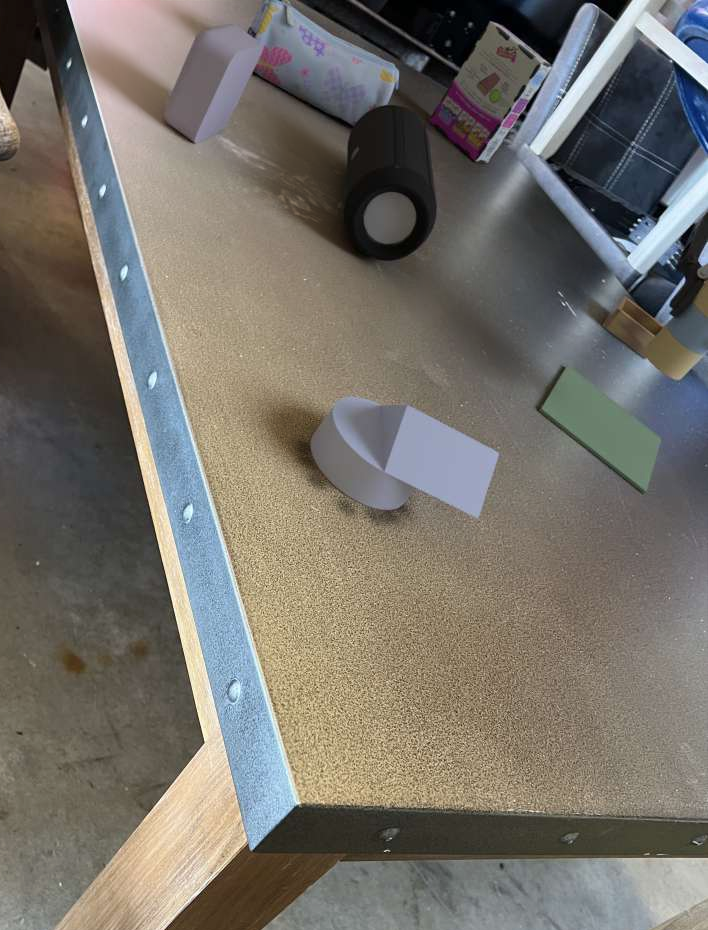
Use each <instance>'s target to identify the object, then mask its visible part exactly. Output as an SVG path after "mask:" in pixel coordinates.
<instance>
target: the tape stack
mask: <svg viewBox="0 0 708 930" xmlns="http://www.w3.org/2000/svg"><path fill="white" fill-rule="evenodd" d="M663 326H664V327H663V328H662V329H661V331H660V332H659V333H658V334H657V335H656V336H655V337H654V338H653V339H652V340H651V341H650V342H649V343H648V345H647V346H646V347H645V348H644V349H643V352H644V354H645V356H646V357H647V358H646V359H647V360H648V362H649V363H651V365H652V366H654V367H655V368H656V369H657V370H658V371H659V372H661V373H662V374H663V375H665V376H667V377H668V378H669V379H672V380H675V381H680V380H681V379H683V377H685V376H686V375H687V374H688V372H690V370H691V369H692V368H693V367H694V366H695V365H696V364H697V363H698V362H699V361H700V360H701V359H702V358H703V357H705V355H706V354H707V353H708V280H707V281H706V282H704V285H703V286H702V287H701V289H700V290H699V291H698V292H697V294H696V295H695V296H694V297H693V299H692V300H691V301H690V302H689V304H688V305H687V306H686V307H685V309H684V310H683V311H682V312H681V313H680V314H678V315H677V316H676V317H675V318H674V317H673V316H672V318H670V320H668V321H667V323H666V324H665V325H663Z"/></svg>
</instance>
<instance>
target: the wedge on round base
mask: <svg viewBox="0 0 708 930" xmlns="http://www.w3.org/2000/svg"><path fill="white" fill-rule="evenodd" d="M310 452H311V456H312V458H313V460H314V462H315V464H316V465H317V468H318V469H319V470H320V472H321V473H322V475H324V476H325V478H326V479H327V480H328V481H329V482H330V483H331V484H332V485H333V486H334V487H335V488H337V489H338V491H340V492H341V493H343V494H344V495H345V496H346V497H349V498H350V499H352V500H353V501H356V502H358V503H359V504H362V505H364V506H366V507H369V508H372V509H376V510H382V511H391V510H392V511H393V510H396V509H399V508H400V507H402V506H403V505H404V504H405V503H406V501H407V500H408V499H409V498H410V497H411V496H412V494H413V493H414V492H415V490H416V489H417V490H419V491H422V492H424V493H426V494H428V495H430V496H432V497H434V498H436V499H438V500H440V501H441V502H444V503H445V504H448V505H450V506H452V507H454V508H456V509H458V510H460V511H462V512H464V513H465V514H468V515H470V516H472V517H474V518H476V519H479V518H480V515H481V511H482V509H483V506H484V502H485V499H486V496H487V493H488V490H489V486H490V484H491V481H492V478H493V475H494V472H495V468H496V465H497V463H498V459H499V456H500V452H499V451H496V450H494V449H492V448H491V447H489V446H487V445H485V444H483V443H481V442H480V441H478V440H476V439H473V438H472V437H470V436H468V435H466V434H464V433H462V432H461V431H458V430H456V429H455V428H453V427H451V426H449V425H447V424H445V423H443V422H441V421H439V420H437V419H436V418H434V417H432V416H430V415H429V414H426V413H424V412H423V411H420V410H419V409H417V408H414V407H413V406H411V405H409V404H385V405H383V404H382V405H381V404H379V403H378V402H375V401H373V400H370V399H367V398H364V397H360V396H345V397H342V398H339V399H338V400H337V401H336V402H335V403H334V404H333V405H332V407H331V409H330V410H329V412H328V413H327V414H326V416H325V417H324V419H323V420H322V422H321V423H320V424H319V426H318V427H317V429H316V430H315V432H313V435H312V436H311V438H310ZM374 506H375V507H374ZM378 507H379V508H378ZM385 508H386V509H385ZM390 508H391V509H390Z"/></svg>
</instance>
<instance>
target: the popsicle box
mask: <svg viewBox="0 0 708 930" xmlns="http://www.w3.org/2000/svg"><path fill="white" fill-rule="evenodd" d="M553 67H554V66H553V65H552V64H551V63H549V62H548V61H547V60H546V59H545V58H543V57H542V56H541V55H540V54H539V53H537V52H536V51H535V50H533V49H532V48H531V46H528V45H527V44H526V43H525V42H524V41H523V40H521V38H519V37H518V36H517V35H515V34H514V33H512V32H511V31H510V30H509V29H508V28H506V27H505V26H504V25H503V24H500V23H498V22H494V21H491V20H490V21H489V22H488V23H487V25H486V27H485V28H484V30H483V31H482V33H481V35H480V36H479V37H478V40H477V41H476V43H475V45H474V46H473V48H472V49H471V51H470V53H469V54H468V56H467V58H466V59H465V61H464V62H463V64H462V66H461V67H460V69H459V70H458V72H457V74H456V75H455V77H454V79H453V80H452V82H451V84H450V85H449V87H448V88H447V90H446V91H445V93H444V95H443V96H442V98H441V100H440V101H439V103H438V105H437V106H436V107H435V109H434V110H433V112H432V114H431V115H430V117H429V119H428V122H429V123H430V124H431V125H433V127H435V129H436V130H438V131H439V132H440V133H441V134H443V136H445V137H446V138H447V139H448V140H449V141H451V143H453V144H454V145H455V146H456V147H457V148H458V149H459V150H460V151H462V152H463V153H464V154H465V155H466V156H467V157H468V158H470V159H471V160H472V161H473V162H475V163H480V164H488V163H489V162H490V161H491V159H492V158H493V156H494V155H495V153H496V152H497V150H498V149H499V147H500V146H501V145H502V143H503V141H505V139H506V137H507V135H508V134H509V133H510V131H511V130H512V128H513V127H514V126H515V124H516V123H517V121H518V120H519V118H520V116H521V115H522V113H523V112H524V111H525V110H526V108H527V106H528V105H529V104H530V102H531V100H532V99H533V98H534V96H535V94H536V93H537V91H538V90H539V89H540V87H541V85H542V84H543V83H544V81H545V80H546V78H547V77H548V75H549V74H550V73H551V71H552V69H553Z"/></svg>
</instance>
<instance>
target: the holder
mask: <svg viewBox="0 0 708 930" xmlns="http://www.w3.org/2000/svg"><path fill="white" fill-rule="evenodd" d="M664 326H665V325H663V323H661V322H660V321H658V320H657V319H656V318H654V317H653V316H652V315H650V314H649V313H648V312H647V311H645V310H644V309H643V308H642V307H640V306H639V305H637V303H635V302H634V301H633V300H632V299H630V298H628V296H626V295H623V296H622V298H620V300H619V301H618V302H617V303H616V305H615V306H614V307H613V308H612V309H611V310H610V312H609V313H608V315H607V316H606V318H605V320H604V322H603V323H602V325H601V327H602V328H604V329H606V330H607V331H608V332H609V333H610V334H612V335H613V336H614V337H616V338H617V339H618V340H620V341H621V342H622V343H624V345H626V346H627V347H628V348H630V349H631V350H633V352H634V353H636V354H637V355H638V356H640V357H641V358H642V359H644V360H646V359H647V357H646V356H645V354H644V352H643V349H644V348H645V347H646V346H647V345H648V343H649V342H650V341H651V340H652V339H653V338H654V337H655V336H656V335H657V334H658V333H659V332H660V331H661V329H662V328H663V327H664Z"/></svg>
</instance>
